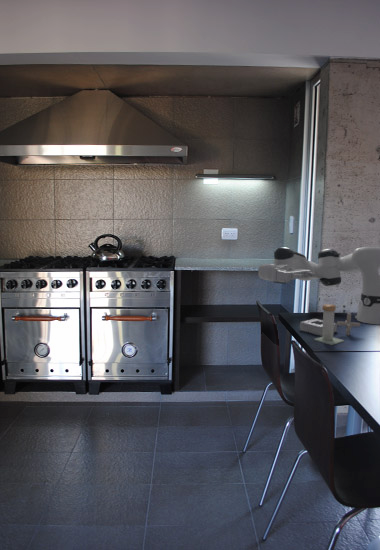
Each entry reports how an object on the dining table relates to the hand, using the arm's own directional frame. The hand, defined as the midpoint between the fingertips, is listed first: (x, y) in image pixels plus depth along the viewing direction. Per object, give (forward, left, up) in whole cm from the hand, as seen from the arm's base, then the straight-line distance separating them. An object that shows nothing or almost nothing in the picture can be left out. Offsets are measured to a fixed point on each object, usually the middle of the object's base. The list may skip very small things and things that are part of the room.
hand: (307, 275), depth 211 cm
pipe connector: (-8, +18, -26) cm, 33 cm away
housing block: (-2, +6, -26) cm, 27 cm away
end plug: (+8, +18, -25) cm, 32 cm away
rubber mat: (+8, +19, -26) cm, 33 cm away
